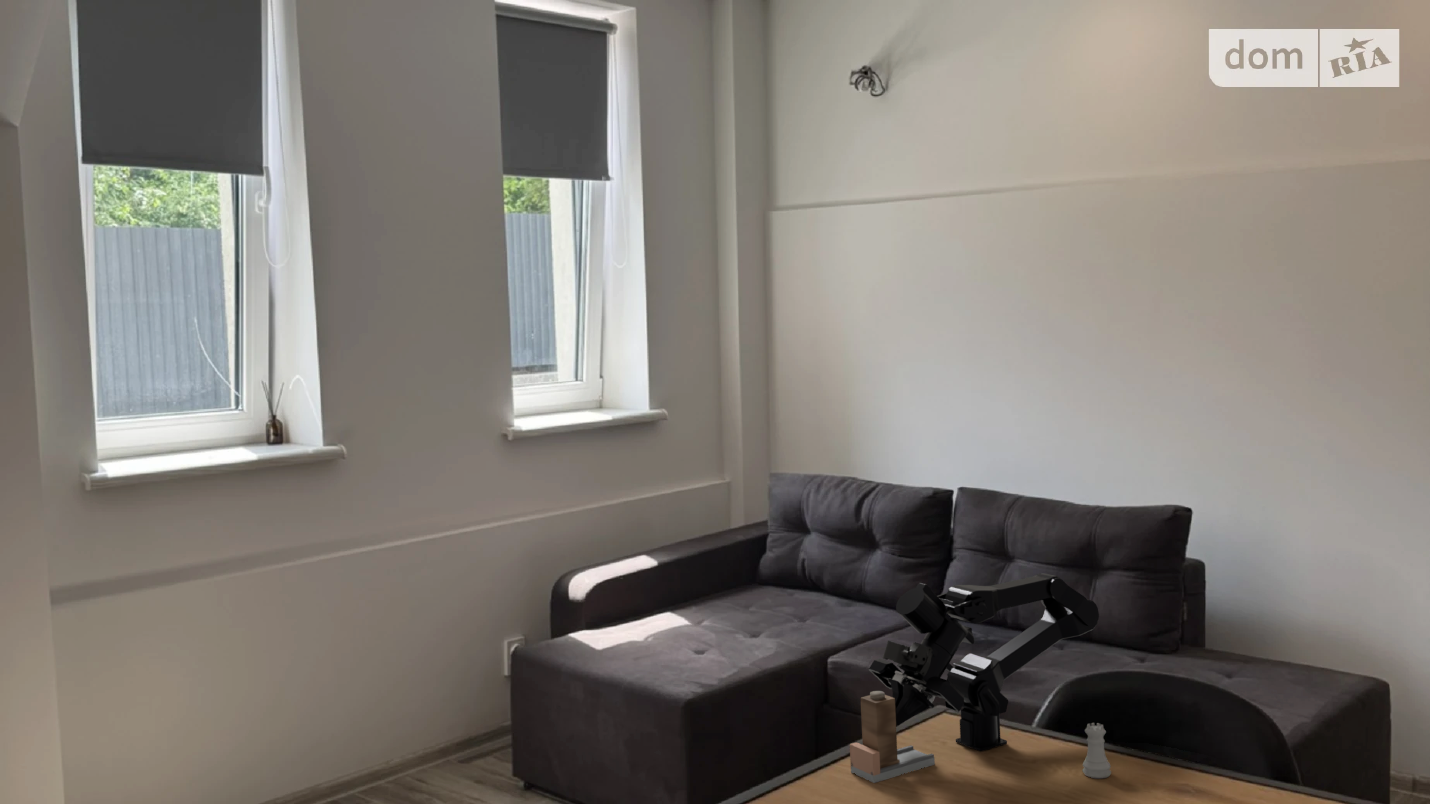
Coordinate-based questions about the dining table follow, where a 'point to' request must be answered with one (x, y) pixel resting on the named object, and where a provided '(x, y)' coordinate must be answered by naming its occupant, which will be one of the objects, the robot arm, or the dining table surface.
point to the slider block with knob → (880, 726)
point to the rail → (868, 766)
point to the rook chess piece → (1096, 753)
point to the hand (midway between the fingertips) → (889, 726)
